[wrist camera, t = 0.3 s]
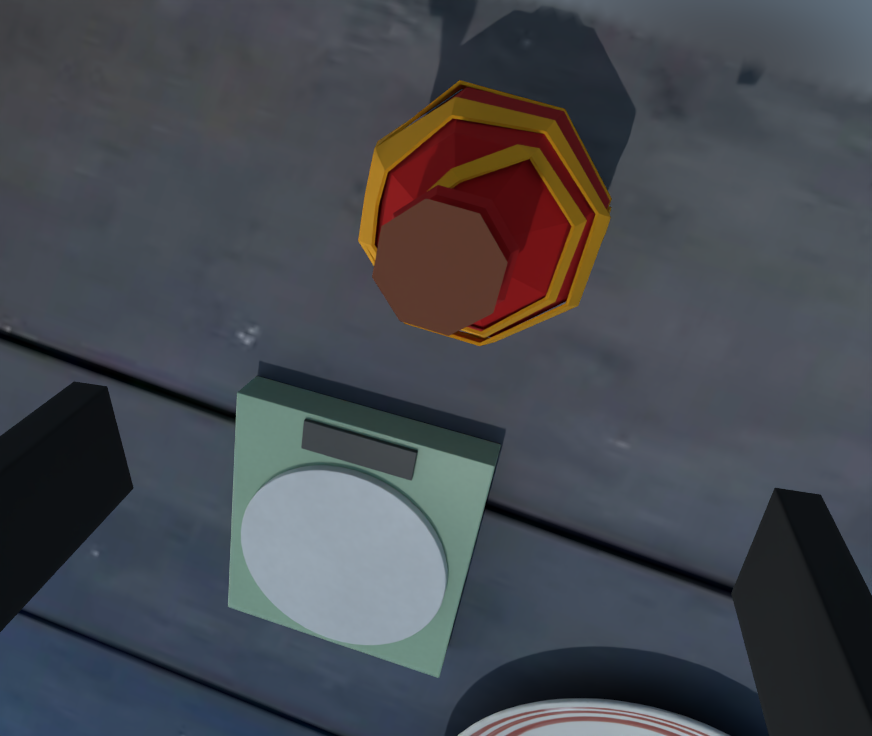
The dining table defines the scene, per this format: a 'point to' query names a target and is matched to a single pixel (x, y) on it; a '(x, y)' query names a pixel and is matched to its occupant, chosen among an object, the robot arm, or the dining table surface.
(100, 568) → the dining table surface
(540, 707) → the dinner plate
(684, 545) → the dining table surface
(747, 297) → the dining table surface
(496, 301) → the potion bottle
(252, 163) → the dining table surface
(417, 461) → the kitchen scale
